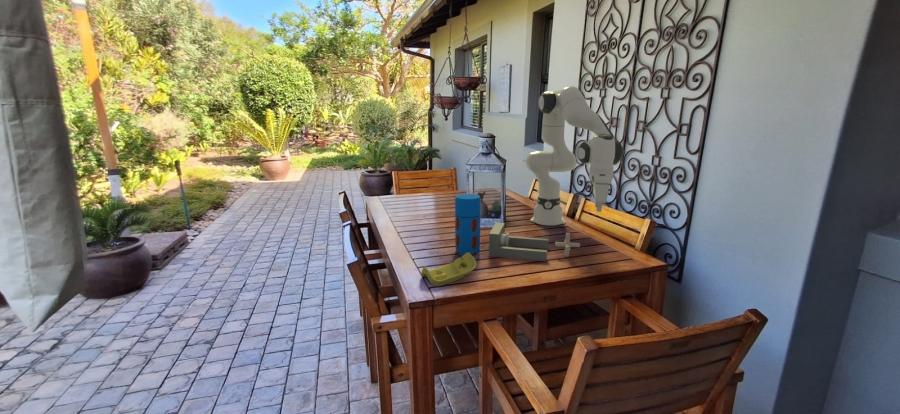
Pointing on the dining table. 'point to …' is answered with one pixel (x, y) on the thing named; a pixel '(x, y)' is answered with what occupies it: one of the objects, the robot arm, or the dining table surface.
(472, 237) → the thermos
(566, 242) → the pipe connector
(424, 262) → the dining table surface
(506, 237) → the rounded knob
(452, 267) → the plastic component
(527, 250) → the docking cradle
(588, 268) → the dining table surface
